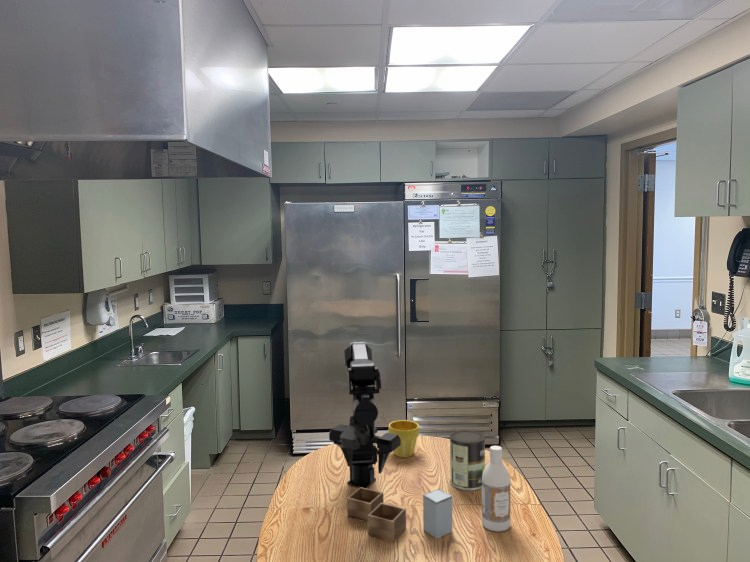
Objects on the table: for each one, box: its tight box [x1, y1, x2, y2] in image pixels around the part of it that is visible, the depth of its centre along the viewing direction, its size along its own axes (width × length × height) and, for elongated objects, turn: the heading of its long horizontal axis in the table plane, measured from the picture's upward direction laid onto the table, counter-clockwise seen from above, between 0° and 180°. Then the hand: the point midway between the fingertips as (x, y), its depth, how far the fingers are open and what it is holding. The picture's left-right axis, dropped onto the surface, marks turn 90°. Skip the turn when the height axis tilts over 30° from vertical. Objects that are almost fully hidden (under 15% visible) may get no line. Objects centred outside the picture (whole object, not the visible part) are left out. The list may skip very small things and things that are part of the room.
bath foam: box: [481, 445, 511, 533], centre depth 132 cm, size 7×7×20 cm
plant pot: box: [387, 419, 420, 458], centre depth 178 cm, size 10×10×10 cm
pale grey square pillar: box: [422, 488, 453, 539], centre depth 131 cm, size 5×5×9 cm
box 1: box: [346, 487, 385, 523], centre depth 139 cm, size 7×7×5 cm
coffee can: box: [448, 429, 486, 491], centre depth 156 cm, size 10×10×14 cm
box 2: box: [367, 503, 407, 543], centre depth 131 cm, size 7×7×5 cm
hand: (364, 469), depth 139 cm, fingers open, 9 cm apart
